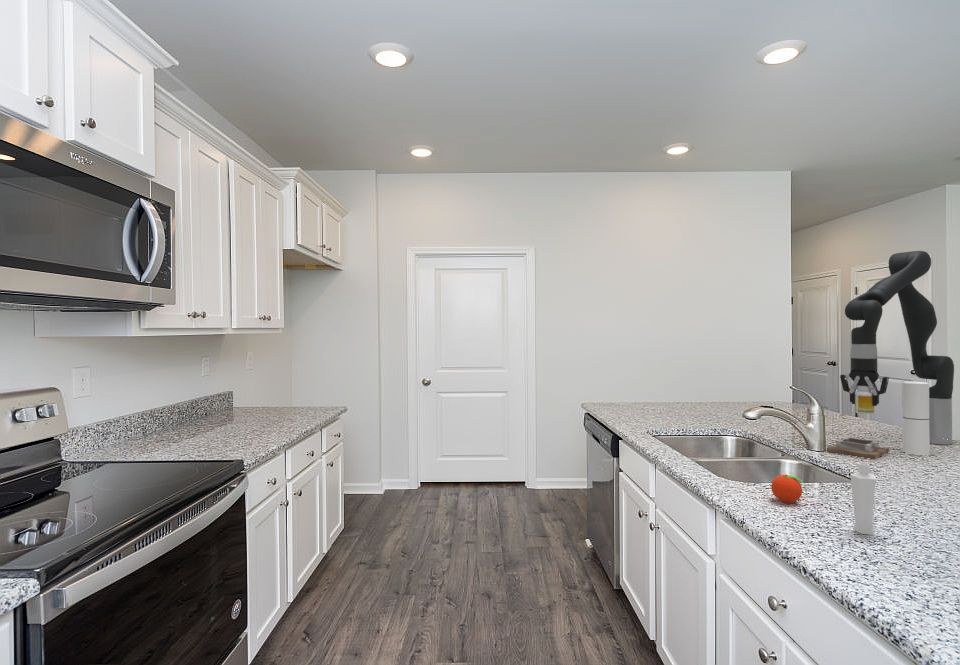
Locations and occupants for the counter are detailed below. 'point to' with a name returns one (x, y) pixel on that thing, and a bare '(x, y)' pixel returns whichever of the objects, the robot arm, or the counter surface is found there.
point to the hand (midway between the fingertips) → (864, 404)
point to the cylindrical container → (915, 418)
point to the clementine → (787, 488)
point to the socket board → (858, 448)
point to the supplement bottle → (864, 400)
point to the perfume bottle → (863, 499)
